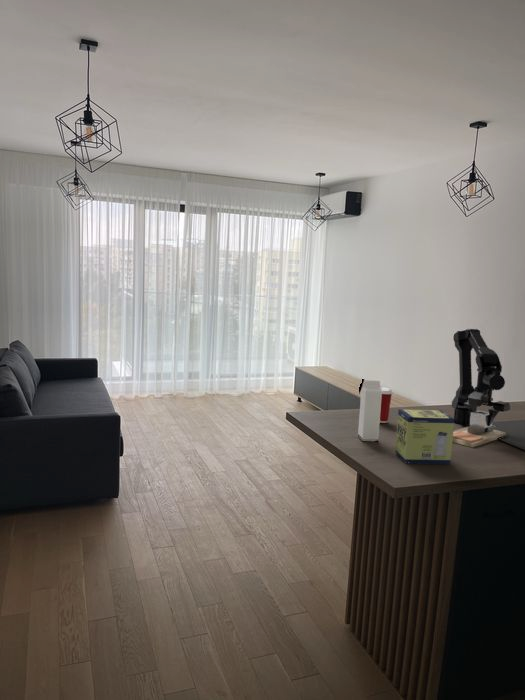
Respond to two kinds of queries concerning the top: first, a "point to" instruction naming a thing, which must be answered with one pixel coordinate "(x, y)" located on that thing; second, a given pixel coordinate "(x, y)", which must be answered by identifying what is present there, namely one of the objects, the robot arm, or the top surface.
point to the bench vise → (479, 429)
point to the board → (475, 437)
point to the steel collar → (479, 419)
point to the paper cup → (385, 403)
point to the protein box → (424, 436)
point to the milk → (370, 410)
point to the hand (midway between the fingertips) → (480, 424)
